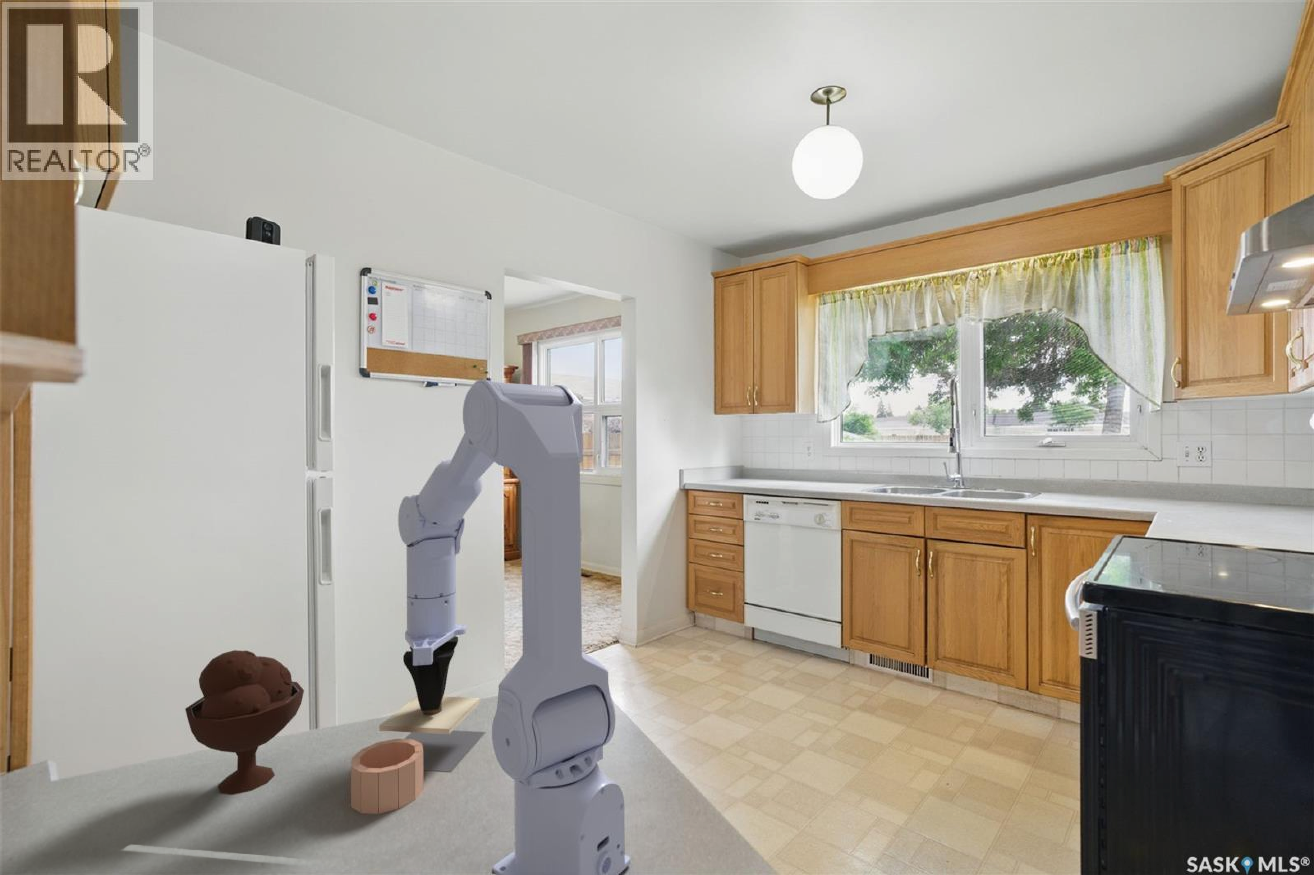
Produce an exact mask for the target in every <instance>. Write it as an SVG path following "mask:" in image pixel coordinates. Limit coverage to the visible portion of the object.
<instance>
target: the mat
mask: <svg viewBox="0 0 1314 875" xmlns="http://www.w3.org/2000/svg"><path fill="white" fill-rule="evenodd" d="M485 733H486V731H473V730H471V731H468V730H453V731H452V732H451V733H450V734H436V733H415V732H409V734H408V735H407V736H406V737H405V738H404V739H413V740H415V741H417V742H419V743H422V746H423V772H424V771H426V772H427V771H428V772H439V773H440V772H442V773H443V772H444V773H452V772H453V771H454V769H456V768H457V766H458V765H459V764H460V763H461V761H463V759H464V758H465V757H466V755H468V753H469V752H471V750H472V749H473V748H474V747H475V745H476V744H477V743H478V742H479V741H480V739H481V738H482V737H483V736H484V735H485Z"/></svg>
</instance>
